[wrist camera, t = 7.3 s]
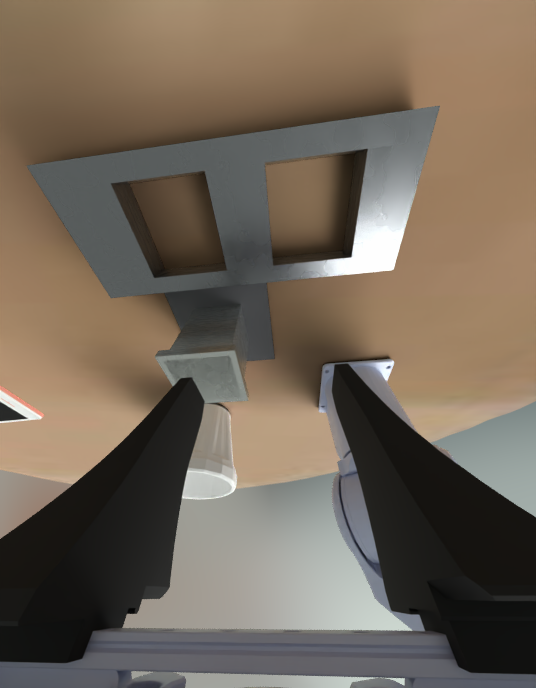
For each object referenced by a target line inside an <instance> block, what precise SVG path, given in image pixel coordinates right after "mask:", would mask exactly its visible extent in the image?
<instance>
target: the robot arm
mask: <svg viewBox="0 0 536 688" xmlns="http://www.w3.org/2000/svg"><path fill="white" fill-rule="evenodd" d="M393 365H394V361H393V360H392V359H383V360H370V361H356V362H343V363H329V364H325V365H323V367H322V377H321V388H320V398H319V408H318V409H319V412H326V413H327V417H328V421H329V425H330V428H331V432H332V436H333V440H334V444H335V448H336V451H337V454H338V456H339V458H340V459H341V460H340V461H338V462H337V463H338V467H339V471H340V473H338V474H337V475H336V476H335V478H334V481H333V488H332V503H333V509H334V513H335V517H336V521H337V524H338V527H339V529H340V532H341V534H342V536H343V538H344V540H345V542H346V544H347V546H348V547H349V549H350V550H351V551H352V552H353V554H354V556H355V557H356V559H357V561H358V562H359V564H360V566H361V568H362V570H363V572H364V574H365V576H366V579H367V581H368V583H369V585H370V587H371V589H372V592H373V594H374V597H375V599H376V600H377V601H378V602H379V603H380V604H382V605H383V606H384V607H385V608H386V609H387V610H389V611H390V612H391V613H392V614H393V615H394V616H396V617H397V618H398V619H400V620H401V621H402V622H403V623H405V624H406V625H407V626H408V627H409V628H411V629H412V630H413V631H373V630H370V631H369V630H363V631H362V630H267V629H265V630H264V629H263V630H261V629H156V628H154V629H153V628H148V629H147V628H146V629H145V628H122V627H123V624H124V621H125V618H126V615H127V614H137V612H138V611H139V607H140V604H141V601H142V599H160V598H161V597H162V596H163V595H164V594H165V593H166V592H167V590H168V589H169V587H170V577H171V568H172V560H173V551H174V543H175V536H176V530H177V523H178V517H179V511H180V505H181V499H182V494H183V489H184V484H185V479H186V474H187V470H188V466H189V462H190V459H191V456H192V452H193V449H194V445H195V442H196V439H197V435H198V432H199V428H200V425H201V421H202V416H203V410H204V403H205V401H204V399H203V397H202V395H201V393H200V391H199V389H198V388H197V386H196V384H195V382H194V380H193V378H192V377H188V378H180V379H179V380H178V382H177V383H176V384H175V385H174V386H173V387H172V388H171V389H170V391H169V392H168V393H167V394H166V395H165V396H164V397H163V399H162V400H161V401H160V402H159V403H158V404H157V405H156V407H155V408H154V409H153V410H152V411H151V412H150V413H149V414H148V415H147V417H146V418H145V419H144V420H143V421H142V422H141V423H140V424H139V425H138V426H137V427H136V428H135V429H134V430H133V431H132V432H131V433H130V434H129V435H128V436H127V437H126V438H125V439H124V440H123V441H122V442H121V443H120V444H119V445H118V446H117V447H116V448H115V449H114V450H113V451H112V452H110V453H109V454H108V455H107V456H106V457H105V458H104V459H103V460H102V461H101V462H99V463H98V464H97V465H96V466H95V467H94V468H92V469H91V470H90V471H89V472H88V473H86V474H85V475H84V476H83V477H82V478H80V479H79V480H78V481H77V482H76V483H75V484H73V485H72V486H71V487H70V488H68V489H67V490H66V491H65V492H63V493H62V494H61V495H59V496H58V497H57V498H56V499H54V500H53V501H52V502H50V503H49V504H48V505H46V506H45V507H44V508H43V509H41V510H40V511H39V512H37V513H36V514H35V515H33V516H32V517H30V518H29V519H28V520H26V521H25V522H24V523H22V524H21V525H19V526H18V527H17V528H15V529H14V530H12V531H11V532H9V533H8V534H7V535H5V536H4V537H2V538H1V539H0V688H185V684H186V679H185V677H184V676H181V675H179V674H176V673H173V672H192V673H230V674H267V675H306V676H344V677H382V678H375V679H369V680H364V681H358V682H353V683H352V684H351V687H350V688H536V517H534V516H533V515H531V514H530V513H528V512H527V511H525V510H523V509H522V508H520V507H518V506H517V505H515V504H514V503H512V502H511V501H509V500H508V499H506V498H505V497H504V496H502V495H501V494H499V493H498V492H496V491H495V490H493V489H491V488H490V487H489V486H487V485H486V484H484V483H483V482H482V481H480V480H479V479H477V478H476V477H475V476H473V475H472V474H471V473H469V472H468V471H466V470H465V469H464V468H462V467H461V466H460V465H458V463H457V462H456V461H455V459H454V458H453V457H452V455H451V454H450V453H449V452H448V451H447V450H445V449H442V448H439V447H438V446H437V445H432V444H431V443H429V442H428V441H427V440H426V439H424V438H423V437H422V436H421V435H419V434H418V433H417V431H416V429H415V428H414V426H413V424H412V423H411V421H410V419H409V418H408V416H407V414H406V413H405V411H404V409H403V408H402V406H401V405H400V403H399V401H398V400H397V398H396V396H395V395H394V393H393V391H392V390H391V388H390V386H389V385H388V383H387V380H388V377H389V375H390V372H391V370H392V367H393ZM326 370H328V371H326ZM131 671H153V673H150V674H147V675H143V676H140V677H137V678H134V679H132V677H131ZM383 677H384V678H383ZM385 678H405V686H403V685H402V684H400V683H397V682H396V681H393V680H390V679H385ZM246 688H280V687H246Z"/></svg>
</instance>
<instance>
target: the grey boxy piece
mask: <svg viewBox="0 0 536 688" xmlns="http://www.w3.org/2000/svg"><path fill="white" fill-rule="evenodd" d="M248 344H249V341H248V336H247V331H246V326H245V321H244V317H243V312H242V307H241V304H240V305H229V306H218V307H208V308H197V309H194V310H193V311H192V313H191V315H190V317H189V318H188V320H187V322H186V323H185V325H184V327H183V328H182V330H181V332H180V334H179V335H178V337H177V339H176V340H175V342H174V344H173V345H172V347H171V349H170V350H162V351H158V353H157V354H156V356H155V358H156V360H157V361H158V363H159V365H160V366H161V368H162V369H163V371H164V373H165V374H166V376H167V378H168V379H169V381H170V383H171V384H172V386H174V385H175V384H176V383H177V382H178V380H179V379H180V378H188V377H192V378H193V380H194V382H195V384H196V386H197V388H198V389H199V391H200V393H201V395H202V397H203V399H204V401H205V403H218V402H234V401H248V397H249V393H248V390H247V386H246V382H245V370H246V361H247V353H248Z"/></svg>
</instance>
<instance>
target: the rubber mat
mask: <svg viewBox="0 0 536 688" xmlns="http://www.w3.org/2000/svg"><path fill="white" fill-rule="evenodd" d="M164 294H165V296H166V298H167V300H168V303H169V305H170V307H171V309H172V311H173V314H174V316H175V318H176V320H177V323H178V325H179V327H180V329H181V330H182V328H183V327H184V325H185V323H186V322H187V320H188V318H189V317H190V315H191V313H192V311H193V310H194V309H197V308H208V307H218V306H229V305H240V304H241V307H242V312H243V317H244V321H245V326H246V331H247V336H248V341H249V344H248V353H247V361H255V360H268V359H275V357H274V348H273V339H272V329H271V320H270V311H269V302H268V292H267V283H257V284H247V285H237V286H227V287H217V288H207V289H197V290H187V291H177V292H167V293H164Z"/></svg>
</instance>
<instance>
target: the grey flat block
mask: <svg viewBox="0 0 536 688" xmlns="http://www.w3.org/2000/svg"><path fill="white" fill-rule="evenodd" d="M439 108H440V106H434V107H427V108H420V109H414V110H407V111H400V112H393V113H386V114H379V115H372V116H365V117H358V118H352V119H345V120H338V121H331V122H324V123H317V124H310V125H303V126H296V127H290V128H283V129H276V130H269V131H262V132H255V133H248V134H241V135H234V136H227V137H221V138H214V139H207V140H200V141H193V142H186V143H179V144H172V145H165V146H159V147H152V148H145V149H138V150H131V151H124V152H117V153H110V154H103V155H97V156H90V157H83V158H76V159H69V160H62V161H55V162H48V163H41V164H35V165H28V166H27V168H28V169H29V171H30V172H31V174H32V175H33V177H34V179H35V180H36V182H37V183H38V185H39V186H40V188H41V189H42V191H43V193H44V194H45V196H46V197H47V199H48V200H49V202H50V204H51V205H52V207H53V208H54V210H55V211H56V213H57V215H58V216H59V218H60V219H61V221H62V222H63V224H64V225H65V227H66V229H67V230H68V232H69V233H70V235H71V236H72V238H73V240H74V241H75V243H76V244H77V246H78V247H79V249H80V251H81V252H82V254H83V255H84V257H85V258H86V260H87V262H88V263H89V265H90V266H91V268H92V269H93V271H94V272H95V274H96V276H97V277H98V279H99V280H100V282H101V283H102V285H103V287H104V288H105V290H106V291H107V293H108V294H109V296H110V298H116V297H126V296H136V295H146V294H157V293H167V292H177V291H187V290H197V289H207V288H217V287H227V286H237V285H247V284H257V283H267V282H277V281H287V280H297V279H307V278H317V277H327V276H337V275H347V274H358V273H368V272H378V271H388V270H393V269H394V265H395V262H396V258H397V255H398V251H399V248H400V244H401V241H402V237H403V234H404V230H405V227H406V223H407V220H408V216H409V213H410V209H411V206H412V202H413V199H414V195H415V192H416V188H417V185H418V181H419V178H420V174H421V171H422V167H423V164H424V160H425V157H426V153H427V150H428V146H429V143H430V139H431V136H432V132H433V129H434V125H435V122H436V118H437V115H438V111H439ZM353 153H355V159H354V167H353V175H352V183H351V191H350V199H349V207H348V215H347V223H346V231H345V239H344V248H343V250H342V251H332V252H323V253H314V254H304V255H295V256H286V257H276V258H272V246H271V234H270V222H269V210H268V198H267V186H266V174H265V165H271V164H279V163H286V162H293V161H301V160H308V159H316V158H323V157H330V156H338V155H345V154H353ZM204 173H205V175H206V179H207V184H208V188H209V192H210V197H211V201H212V206H213V210H214V215H215V219H216V223H217V228H218V232H219V237H220V241H221V246H222V250H223V254H224V259H225V263H220V264H211V265H201V266H192V267H182V268H173V269H164V266H163V264H162V261H161V259H160V257H159V254H158V252H157V249H156V247H155V245H154V242H153V240H152V237H151V235H150V233H149V230H148V228H147V225H146V223H145V221H144V218H143V216H142V213H141V211H140V209H139V206H138V204H137V201H136V199H135V197H134V194H133V192H132V189H131V187H130V185H129V184H130V183H138V182H145V181H152V180H160V179H167V178H175V177H182V176H190V175H197V174H204Z"/></svg>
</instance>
